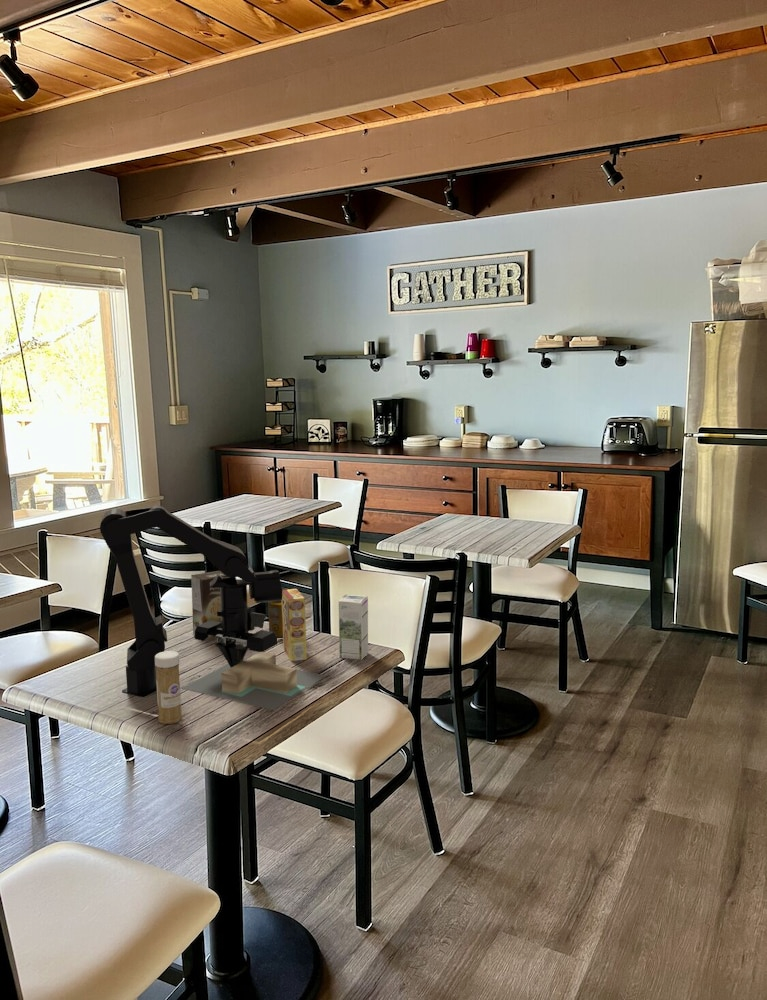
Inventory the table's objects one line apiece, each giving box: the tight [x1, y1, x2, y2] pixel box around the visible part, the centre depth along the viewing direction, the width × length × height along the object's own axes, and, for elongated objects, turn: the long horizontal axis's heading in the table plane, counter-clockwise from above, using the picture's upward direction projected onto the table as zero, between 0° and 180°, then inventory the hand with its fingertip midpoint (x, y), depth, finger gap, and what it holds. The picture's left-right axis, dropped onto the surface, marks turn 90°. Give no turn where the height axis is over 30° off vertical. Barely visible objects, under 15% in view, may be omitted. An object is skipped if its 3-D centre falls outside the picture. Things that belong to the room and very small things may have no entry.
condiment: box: [267, 587, 289, 641], centre depth 199 cm, size 7×8×12 cm
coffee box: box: [190, 570, 228, 640], centre depth 200 cm, size 9×6×16 cm
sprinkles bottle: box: [155, 650, 183, 725], centre depth 151 cm, size 5×5×13 cm
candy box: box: [281, 588, 308, 662], centre depth 185 cm, size 9×4×15 cm, turn 19°
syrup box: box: [338, 594, 369, 661], centre depth 184 cm, size 6×6×14 cm
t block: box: [221, 651, 298, 694], centre depth 168 cm, size 14×13×4 cm
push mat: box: [181, 658, 327, 711], centre depth 169 cm, size 20×24×1 cm
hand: (236, 672), depth 172 cm, fingers closed
